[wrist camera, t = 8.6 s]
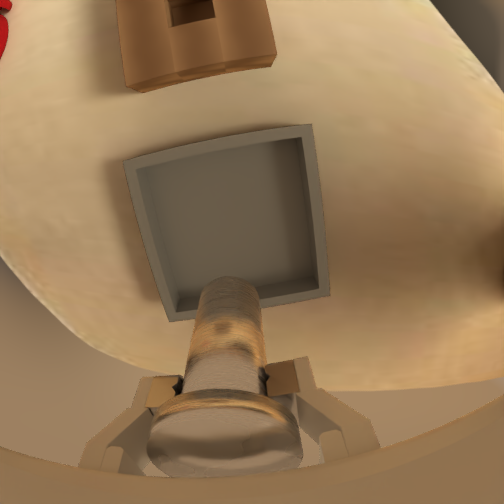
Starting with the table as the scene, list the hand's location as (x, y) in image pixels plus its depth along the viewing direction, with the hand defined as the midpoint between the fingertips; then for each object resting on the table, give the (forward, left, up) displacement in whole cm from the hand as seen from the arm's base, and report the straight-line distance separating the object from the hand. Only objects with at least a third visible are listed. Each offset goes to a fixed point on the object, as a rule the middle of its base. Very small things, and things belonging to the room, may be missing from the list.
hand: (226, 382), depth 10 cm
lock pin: (0, 0, -6) cm, 6 cm away
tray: (0, 0, -21) cm, 21 cm away
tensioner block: (0, -20, -21) cm, 29 cm away
